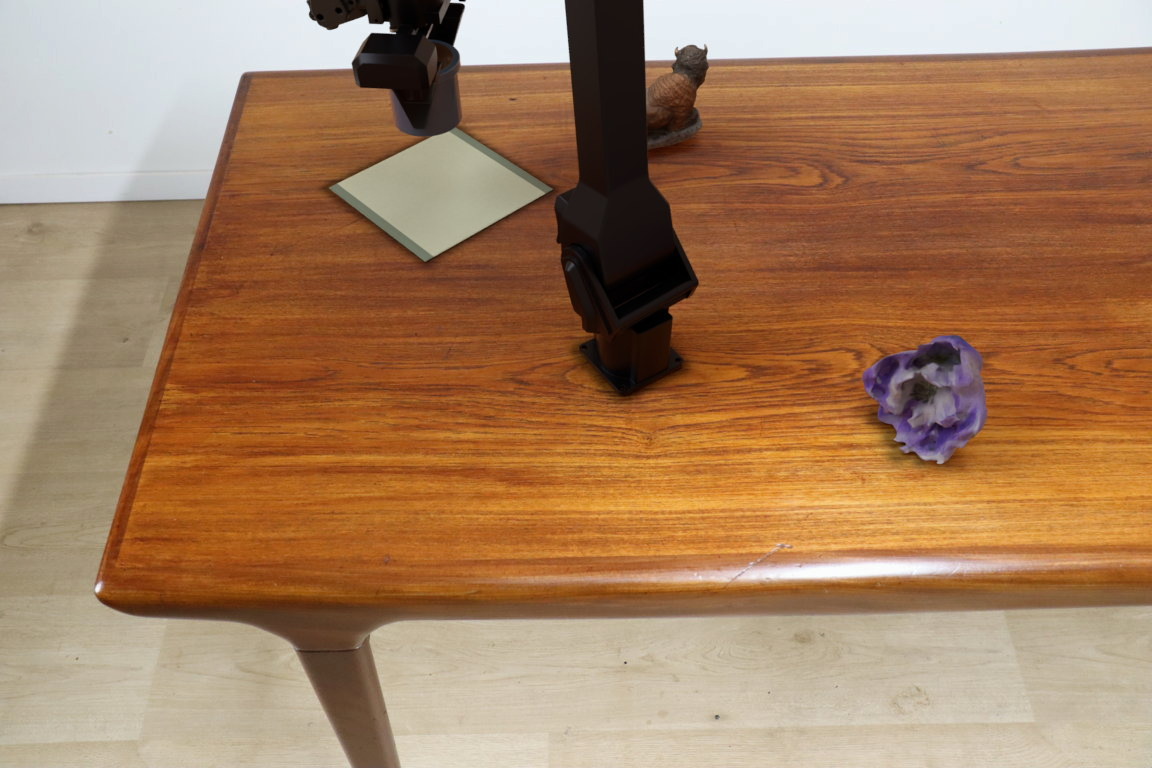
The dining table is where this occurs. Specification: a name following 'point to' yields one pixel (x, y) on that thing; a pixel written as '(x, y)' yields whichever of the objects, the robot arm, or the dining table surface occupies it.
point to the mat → (439, 192)
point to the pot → (436, 97)
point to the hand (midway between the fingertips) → (427, 108)
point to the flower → (931, 396)
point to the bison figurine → (676, 99)
